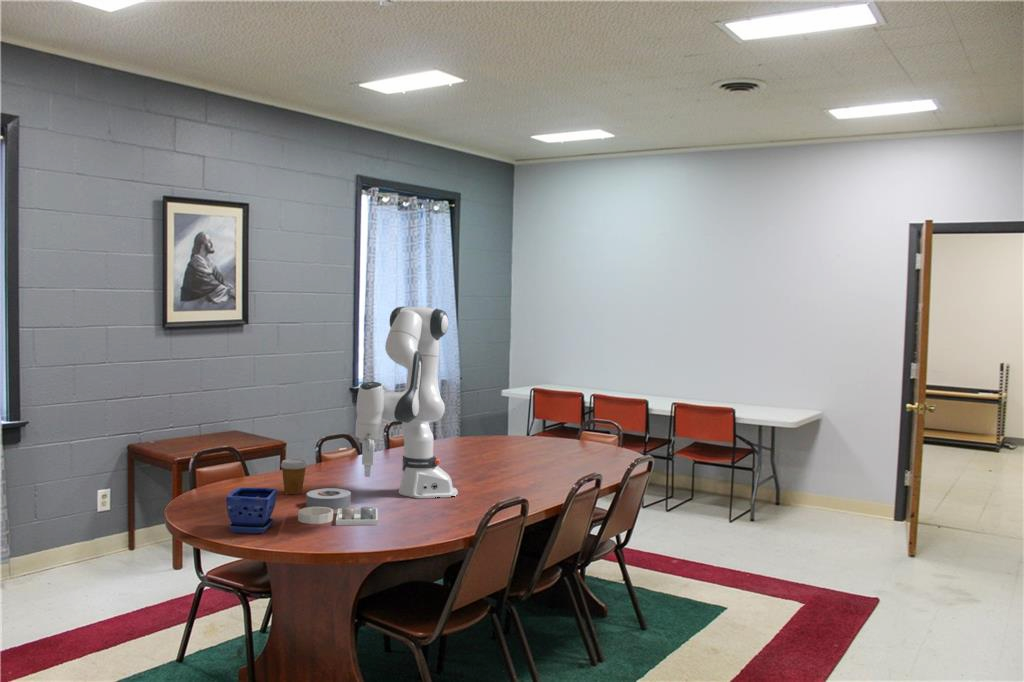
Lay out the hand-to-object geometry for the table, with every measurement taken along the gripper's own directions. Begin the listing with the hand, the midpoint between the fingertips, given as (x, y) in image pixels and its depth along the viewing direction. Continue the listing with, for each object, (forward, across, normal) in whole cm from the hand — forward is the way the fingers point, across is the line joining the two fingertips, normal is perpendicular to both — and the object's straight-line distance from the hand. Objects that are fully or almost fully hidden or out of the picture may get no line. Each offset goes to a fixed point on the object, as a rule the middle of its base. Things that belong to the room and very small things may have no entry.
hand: (367, 473), depth 274 cm
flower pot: (+17, -8, +35) cm, 40 cm away
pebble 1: (+15, 0, +6) cm, 16 cm away
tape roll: (+16, +20, +13) cm, 29 cm away
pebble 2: (+15, 0, 0) cm, 15 cm away
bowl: (+16, 0, +16) cm, 23 cm away
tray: (+16, 0, +3) cm, 16 cm away
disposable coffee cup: (+16, +40, +27) cm, 51 cm away
